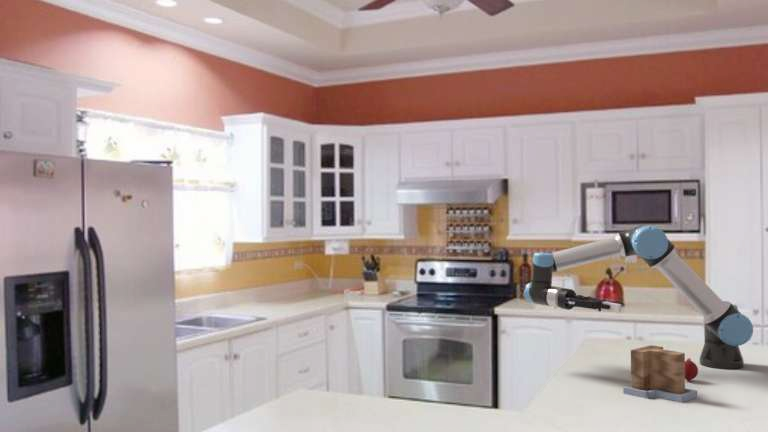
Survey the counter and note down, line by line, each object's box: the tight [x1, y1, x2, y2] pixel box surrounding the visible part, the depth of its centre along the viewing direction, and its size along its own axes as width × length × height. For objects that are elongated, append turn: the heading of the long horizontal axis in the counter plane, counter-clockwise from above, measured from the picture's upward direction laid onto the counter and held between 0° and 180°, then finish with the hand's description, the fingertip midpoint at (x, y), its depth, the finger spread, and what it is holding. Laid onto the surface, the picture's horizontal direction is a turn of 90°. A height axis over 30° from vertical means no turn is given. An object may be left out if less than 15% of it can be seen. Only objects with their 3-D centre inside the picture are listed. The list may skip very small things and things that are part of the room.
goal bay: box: [622, 386, 698, 403], centre depth 229 cm, size 18×17×2 cm
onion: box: [685, 357, 699, 382], centre depth 246 cm, size 6×6×8 cm
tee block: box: [630, 345, 686, 395], centre depth 230 cm, size 14×12×14 cm
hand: (619, 308), depth 244 cm, fingers closed
